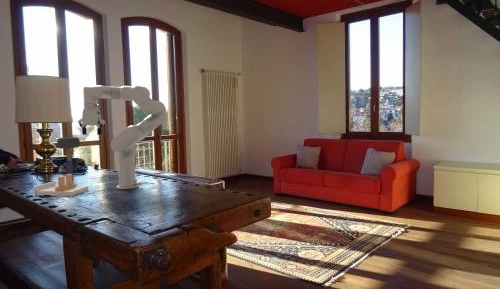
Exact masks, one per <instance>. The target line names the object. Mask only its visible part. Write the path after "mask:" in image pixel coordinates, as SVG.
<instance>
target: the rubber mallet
mask: <svg viewBox="0 0 500 289" xmlns="http://www.w3.org/2000/svg"><path fill="white" fill-rule="evenodd" d="M56 145H57V147H58V149H60V150H61V149H66V173H67V174H72V181H73V182H74V174H73V173H74V165H73V159H72V149H74V148H79V147H80V145H81V140H80V138H79V137H76V136H66V137H59V138H58V139H57V142H56ZM67 174H66V175H67Z"/></svg>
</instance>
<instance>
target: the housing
mask: <svg viewBox="0 0 500 289" xmlns="http://www.w3.org/2000/svg"><path fill="white" fill-rule="evenodd" d="M73 182H74V180H73V181H72V174H65V186H69V189H68V190H64V191H55V187H58V184H56V180H53V181H49V182H45V183H42V184H38V185H35V186H34V196H44V195H50V197H51V196H53V197H73V196H74V197H75V196H77V195H79V194H81V193H85V192H88V191H89V186H88V185H77V184H76V183H73ZM76 194H77V195H76Z"/></svg>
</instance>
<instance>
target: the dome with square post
mask: <svg viewBox="0 0 500 289" xmlns="http://www.w3.org/2000/svg"><path fill="white" fill-rule="evenodd" d="M57 181H58V182H57V183H58V184H57V185H58V187H55V191H64V190H68V189H69V186H65V184H66V175H65V176H64V175H59V176H57Z"/></svg>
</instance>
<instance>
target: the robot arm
mask: <svg viewBox="0 0 500 289" xmlns="http://www.w3.org/2000/svg"><path fill="white" fill-rule="evenodd" d="M150 96H151V92H150V90H149V88H147V87H146V86H142V85H141V86H140V85H135V86H132V85H122V86H107V85H100V84H99V85H93V86H92V85H86V86H84V87H83V109H82V118H80V119H79V120H77V123H78V125H79V127H80V128H81V131H82V132H81V133H82V135H83V136H84V135H87V128H86V127H87V126H96V127H97V129H96V132H97V134H96V135H98V136H100V135H102V128H103V127H104V125H105V123H106V121H105V120H104V119H102V117H101V111H100V105H99V104H98V99H107V100H108V99H109V100H122V101H133V102H134V103H135V104H136V105H137V107H139V109H140V110H142V112H143V113H145V114H147V117H145V118H144V119H143V120H142V121H140V122H139V123H137V124H132V125H128V126H127V127H125V128H124V129H123V130H121V131H120V132H119V133H117V135H115V137H113V138H112V140H111V141H110V148H111V150H112V151H113V152H114V153H118V157H117V158H118V161H117V162H118V165H117V166H118V185H116V189H118V190H130V189H136V188H138V187H139V186H141V185H142V181H141V180H140V181H138V179H136V158H135V157H136V155H135V154H136V145H137V143H136V142H140V141H143V140H144V139H145V138H147V136H148V135H150V134H152V132H153V131H154V130H156V129H157V128H158V127H159V126H160V125H162V123H163V122H164V120H165V118H166V115H167V109H166V106H165V104H164V103H163V102H162V101H159V100H153V99H152V97H150Z"/></svg>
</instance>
